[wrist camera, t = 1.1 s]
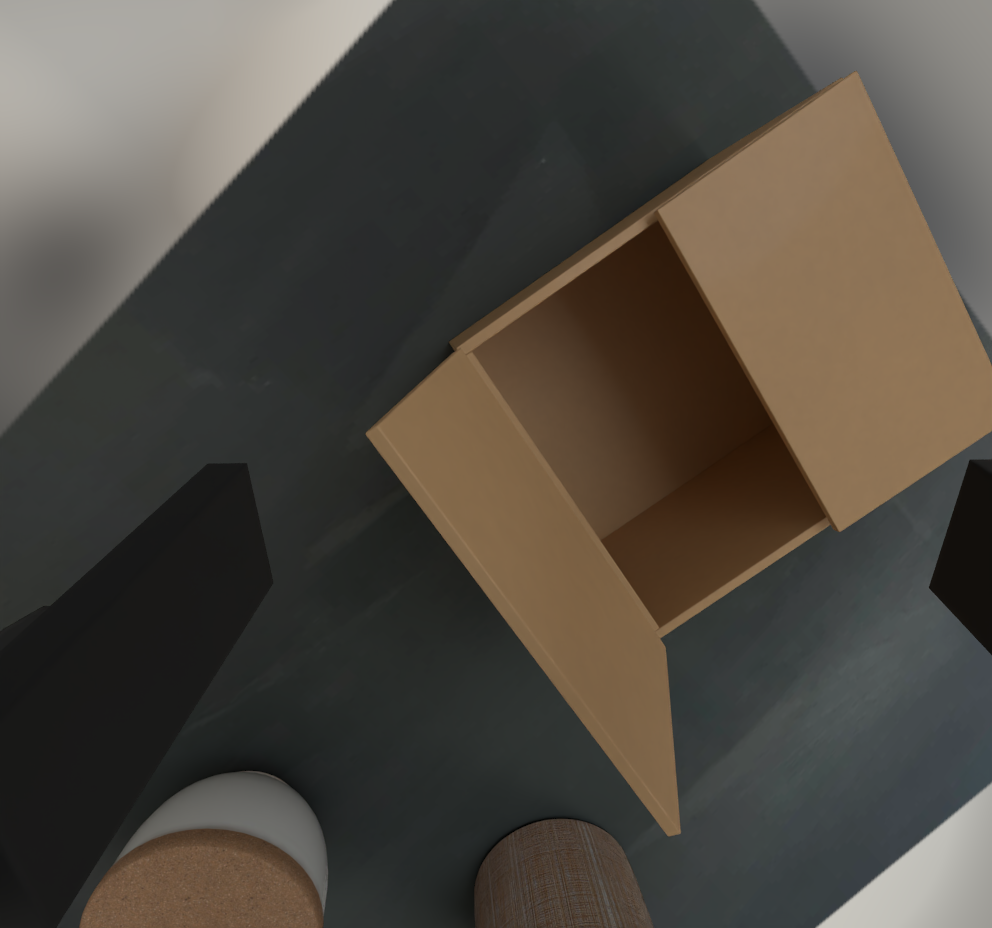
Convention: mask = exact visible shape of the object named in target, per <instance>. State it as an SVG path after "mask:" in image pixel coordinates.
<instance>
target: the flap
mask: <svg viewBox="0 0 992 928" xmlns="http://www.w3.org/2000/svg"><path fill="white" fill-rule="evenodd" d="M366 436H367V437H368V438H369V440H370V441H371V442H372V444H373V445H374V446H375V448H376V449H377V450H378V452H379V453H380V454H381V456H382V457H383V458H384V460H385V461H386V462H387V464H388V465H389V466H390V468H391V469H392V470H393V472H394V473H395V474H396V476H397V477H398V478H399V480H400V481H401V482H402V484H403V485H404V486H405V488H406V489H407V490H408V491H409V493H410V494H411V495H412V497H413V498H414V499H415V501H416V502H417V503H418V505H419V506H420V507H421V509H422V510H423V511H424V513H425V514H426V515H427V517H428V518H429V519H430V521H431V522H432V523H433V525H434V526H435V527H436V529H437V530H438V531H439V533H440V534H441V535H442V537H443V538H444V539H445V541H446V542H447V543H448V545H449V546H450V547H451V549H452V550H453V551H454V553H455V554H456V555H457V557H458V558H459V559H460V561H461V562H462V563H463V565H464V566H465V567H466V569H467V570H468V571H469V573H470V574H471V575H472V577H473V578H474V579H475V580H476V582H477V583H478V584H479V586H480V587H481V588H482V590H483V591H484V592H485V594H486V595H487V596H488V598H489V599H490V600H491V602H492V603H493V604H494V606H495V607H496V608H497V610H498V611H499V612H500V614H501V615H502V616H503V618H504V619H505V620H506V622H507V623H508V624H509V626H510V627H511V628H512V630H513V631H514V632H515V634H516V635H517V636H518V638H519V639H520V640H521V642H522V643H523V644H524V646H525V647H526V648H527V650H528V651H529V652H530V654H531V655H532V656H533V658H534V659H535V660H536V662H537V663H538V664H539V665H540V667H541V668H542V669H543V671H544V672H545V673H546V675H547V676H548V677H549V679H550V680H551V681H552V683H553V684H554V685H555V687H556V688H557V689H558V691H559V692H560V693H561V695H562V696H563V697H564V699H565V700H566V701H567V703H568V704H569V705H570V707H571V708H572V709H573V711H574V712H575V713H576V715H577V716H578V717H579V719H580V720H581V721H582V723H583V724H584V725H585V727H586V728H587V729H588V731H589V732H590V733H591V735H592V736H593V737H594V739H595V740H596V741H597V743H598V744H599V745H600V747H601V748H602V749H603V751H604V752H605V753H606V754H607V756H608V757H609V758H610V760H611V761H612V762H613V764H614V765H615V766H616V768H617V769H618V770H619V772H620V773H621V774H622V776H623V777H624V778H625V780H626V781H627V782H628V784H629V785H630V786H631V788H632V789H633V790H634V792H635V793H636V794H637V796H638V797H639V798H640V800H641V801H642V802H643V804H644V805H645V806H646V808H647V809H648V810H649V812H650V813H651V814H652V816H653V817H654V818H655V820H656V821H657V822H658V824H659V825H660V826H661V828H662V829H663V830H664V832H665V833H666V834H667V836H673V835H677V834H680V833H681V830H680V818H679V806H678V793H677V781H676V769H675V757H674V744H673V732H672V720H671V707H670V695H669V683H668V671H667V658H666V647H665V646H664V644H663V643H662V641H661V640H660V638H659V637H658V635H657V634H656V633H655V631H654V630H653V628H652V627H651V625H650V624H649V622H648V621H647V619H646V618H645V616H644V615H643V614H642V612H641V611H640V609H639V608H638V606H637V605H636V603H635V602H634V600H633V599H632V597H631V596H630V595H629V593H628V592H627V590H626V589H625V587H624V586H623V584H622V583H621V581H620V580H619V578H618V577H617V575H616V574H615V573H614V571H613V570H612V568H611V567H610V565H609V564H608V562H607V561H606V559H605V558H604V556H603V555H602V554H601V552H600V551H599V549H598V548H597V546H596V545H595V543H594V542H593V540H592V539H591V537H590V536H589V535H588V533H587V532H586V530H585V529H584V527H583V526H582V524H581V523H580V521H579V520H578V518H577V517H576V516H575V514H574V513H573V511H572V510H571V508H570V507H569V505H568V504H567V502H566V501H565V499H564V498H563V496H562V495H561V494H560V492H559V491H558V489H557V488H556V486H555V485H554V483H553V482H552V480H551V479H550V477H549V476H548V475H547V473H546V472H545V470H544V469H543V467H542V466H541V464H540V463H539V461H538V460H537V458H536V457H535V456H534V454H533V453H532V451H531V450H530V448H529V447H528V445H527V444H526V442H525V441H524V439H523V438H522V437H521V435H520V434H519V432H518V431H517V429H516V428H515V426H514V425H513V423H512V422H511V420H510V419H509V417H508V416H507V415H506V413H505V412H504V410H503V409H502V407H501V406H500V404H499V403H498V401H497V400H496V398H495V397H494V396H493V394H492V393H491V391H490V390H489V388H488V387H487V385H486V384H485V382H484V381H483V379H482V378H481V377H480V375H479V374H478V372H477V371H476V369H475V368H474V366H473V365H472V363H471V362H470V360H469V359H468V357H467V356H466V355H465V353H464V352H463V350H462V349H461V348H459V349H458V350H456V351H455V352H453V353H452V354H451V355H450V356H449V357H448V358H446V359H445V360H444V361H443V362H442V363H441V364H440V365H439V366H438V367H437V368H436V369H434V370H433V371H432V372H431V373H430V374H429V375H428V376H427V377H426V378H425V379H424V380H422V381H421V382H420V383H419V384H418V385H417V386H416V387H415V388H414V389H413V390H412V391H410V392H409V393H408V394H407V395H406V396H405V397H404V398H403V399H402V400H401V401H400V402H398V403H397V404H396V405H395V406H394V407H393V408H392V409H391V410H390V411H389V412H388V413H386V414H385V415H384V416H383V417H382V418H381V419H380V420H379V421H378V422H377V423H376V424H374V425H373V426H372V427H371V428H370V429H369V430H368V431H367V432H366Z"/></svg>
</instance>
